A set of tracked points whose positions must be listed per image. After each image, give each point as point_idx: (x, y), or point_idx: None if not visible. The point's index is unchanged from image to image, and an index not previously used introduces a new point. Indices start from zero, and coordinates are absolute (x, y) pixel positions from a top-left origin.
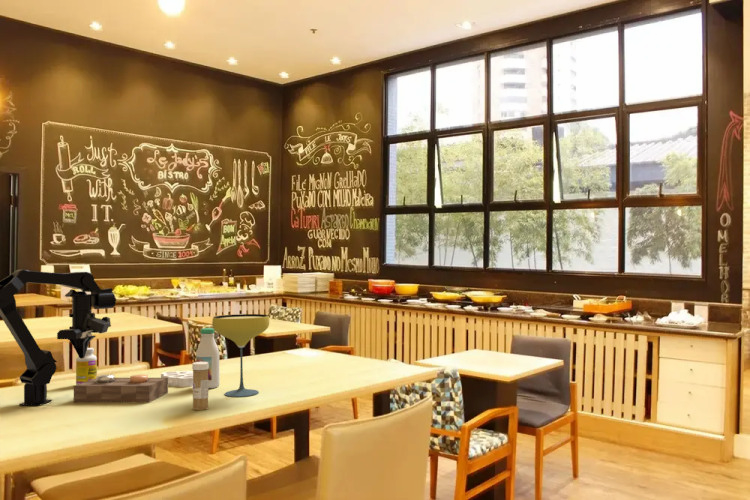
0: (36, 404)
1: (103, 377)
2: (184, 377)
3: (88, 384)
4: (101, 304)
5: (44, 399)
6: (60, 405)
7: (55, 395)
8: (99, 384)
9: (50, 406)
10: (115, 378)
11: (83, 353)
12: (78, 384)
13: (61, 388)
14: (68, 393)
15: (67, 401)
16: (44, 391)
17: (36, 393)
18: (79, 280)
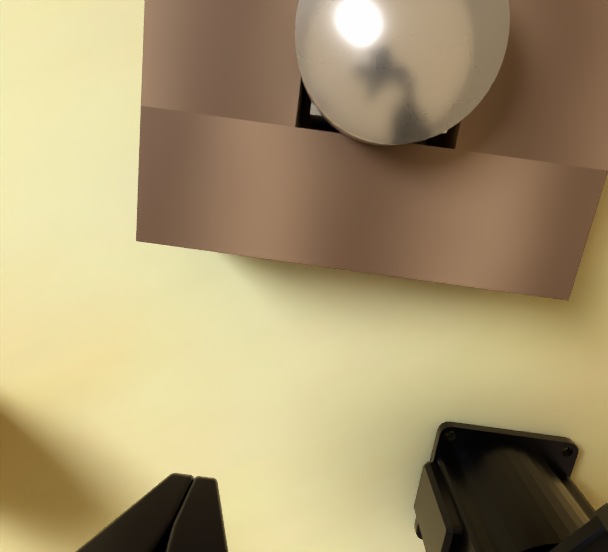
0: (574, 458)
1: (507, 18)
2: None
3: (522, 182)
4: None
5: (514, 451)
6: (585, 315)
7: (247, 467)
8: (553, 55)
9: (599, 366)
10: (198, 3)
11: (208, 536)
12: (496, 285)
13: (26, 515)
14: (189, 414)
15: (460, 319)
16: (541, 490)
17: (588, 517)
18: None
